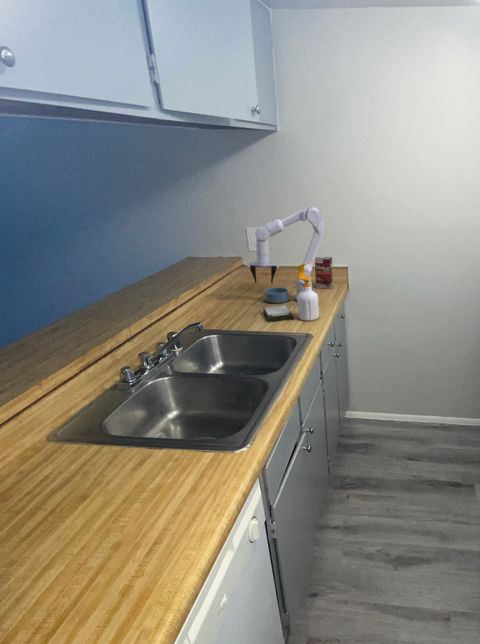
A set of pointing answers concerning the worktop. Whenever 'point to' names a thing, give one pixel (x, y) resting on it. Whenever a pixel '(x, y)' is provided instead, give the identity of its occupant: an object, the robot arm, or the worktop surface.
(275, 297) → the bowl
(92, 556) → the worktop surface
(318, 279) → the supplement box
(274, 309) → the scale
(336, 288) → the worktop surface
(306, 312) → the spray bottle
